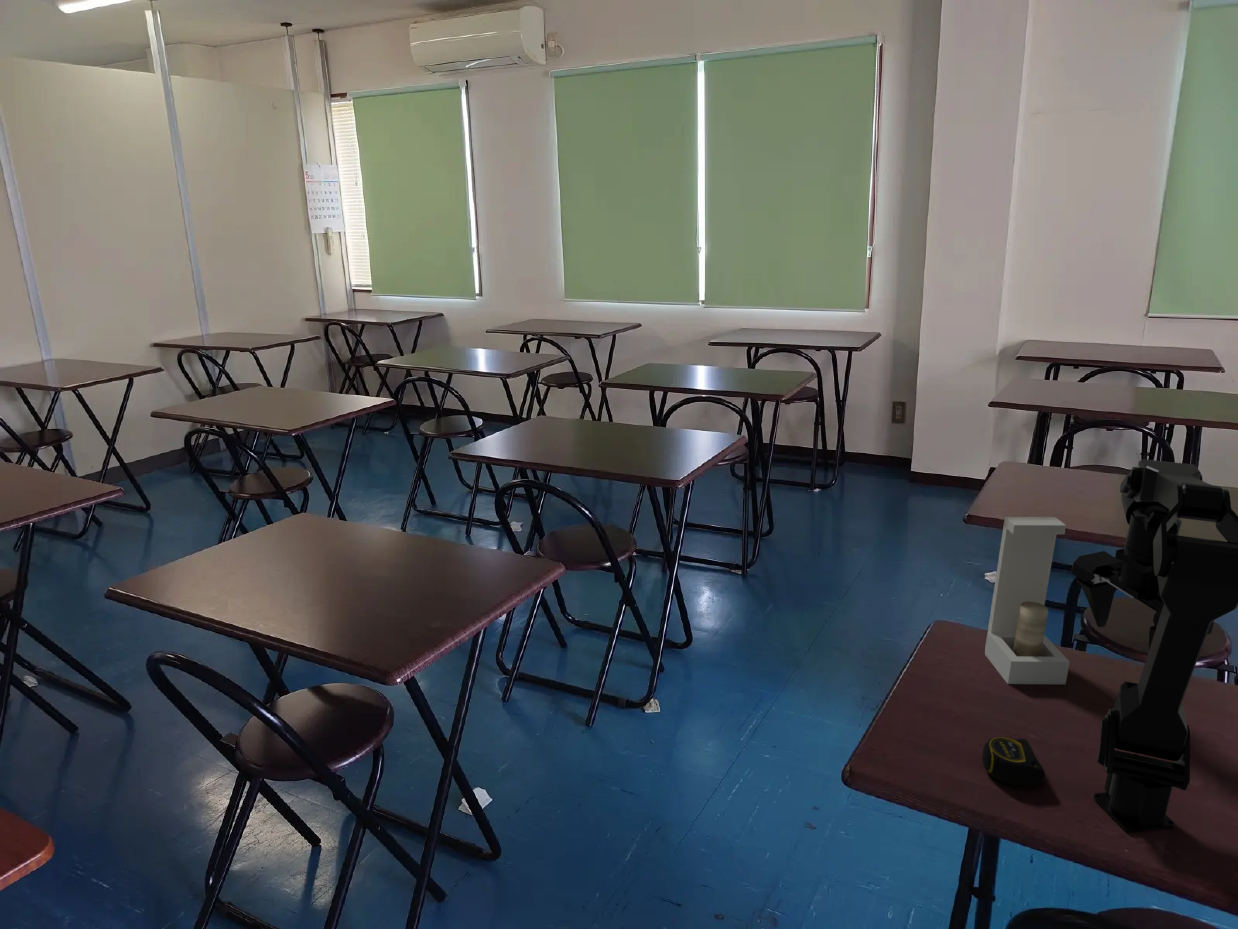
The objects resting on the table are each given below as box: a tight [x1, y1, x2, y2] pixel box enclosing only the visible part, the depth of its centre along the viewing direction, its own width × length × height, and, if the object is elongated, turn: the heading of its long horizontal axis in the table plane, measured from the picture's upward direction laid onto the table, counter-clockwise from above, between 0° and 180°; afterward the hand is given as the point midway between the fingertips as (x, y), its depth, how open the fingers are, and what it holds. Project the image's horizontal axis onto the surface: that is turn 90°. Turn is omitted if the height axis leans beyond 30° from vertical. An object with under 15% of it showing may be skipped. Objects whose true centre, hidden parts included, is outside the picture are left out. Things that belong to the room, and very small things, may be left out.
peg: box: [1013, 602, 1049, 657], centre depth 136 cm, size 4×4×11 cm
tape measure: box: [981, 736, 1046, 786], centre depth 113 cm, size 7×7×4 cm
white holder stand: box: [984, 516, 1070, 685], centre depth 135 cm, size 10×9×24 cm
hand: (1126, 644), depth 122 cm, fingers open, 9 cm apart
